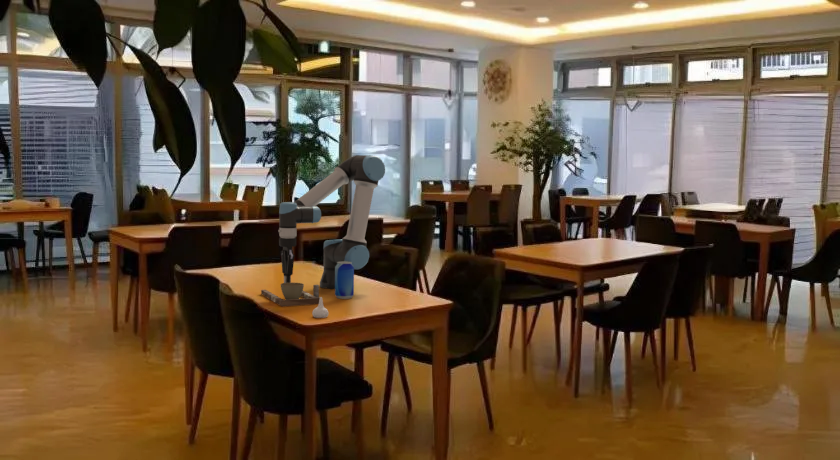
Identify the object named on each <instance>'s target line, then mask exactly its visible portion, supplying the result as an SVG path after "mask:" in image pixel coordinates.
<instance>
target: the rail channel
mask: <svg viewBox="0 0 840 460" xmlns="http://www.w3.org/2000/svg"><path fill="white" fill-rule="evenodd" d="M312 289H313V290H312V292H313V293H312V294H311V293H309V292H307V291H304V290H303V291H302V294H301V296H300V297H301V298H299V299H289V300H286V299H283V298H282V297H279V296H278V295H276V294H274V293H272V292H270V290H267V289H261V290H260V291H261V292H260V294H261V295H262V296H263V295H264V297H265V298H266V299H268V298H269V300H270V301H272V302H274V303H275V304H277V305H278V306H280V307H293V306H294V307H295V306H296V307H297V306H310V305H318V304H319V297H320V293H319V291H320V284H313V287H312Z"/></svg>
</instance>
